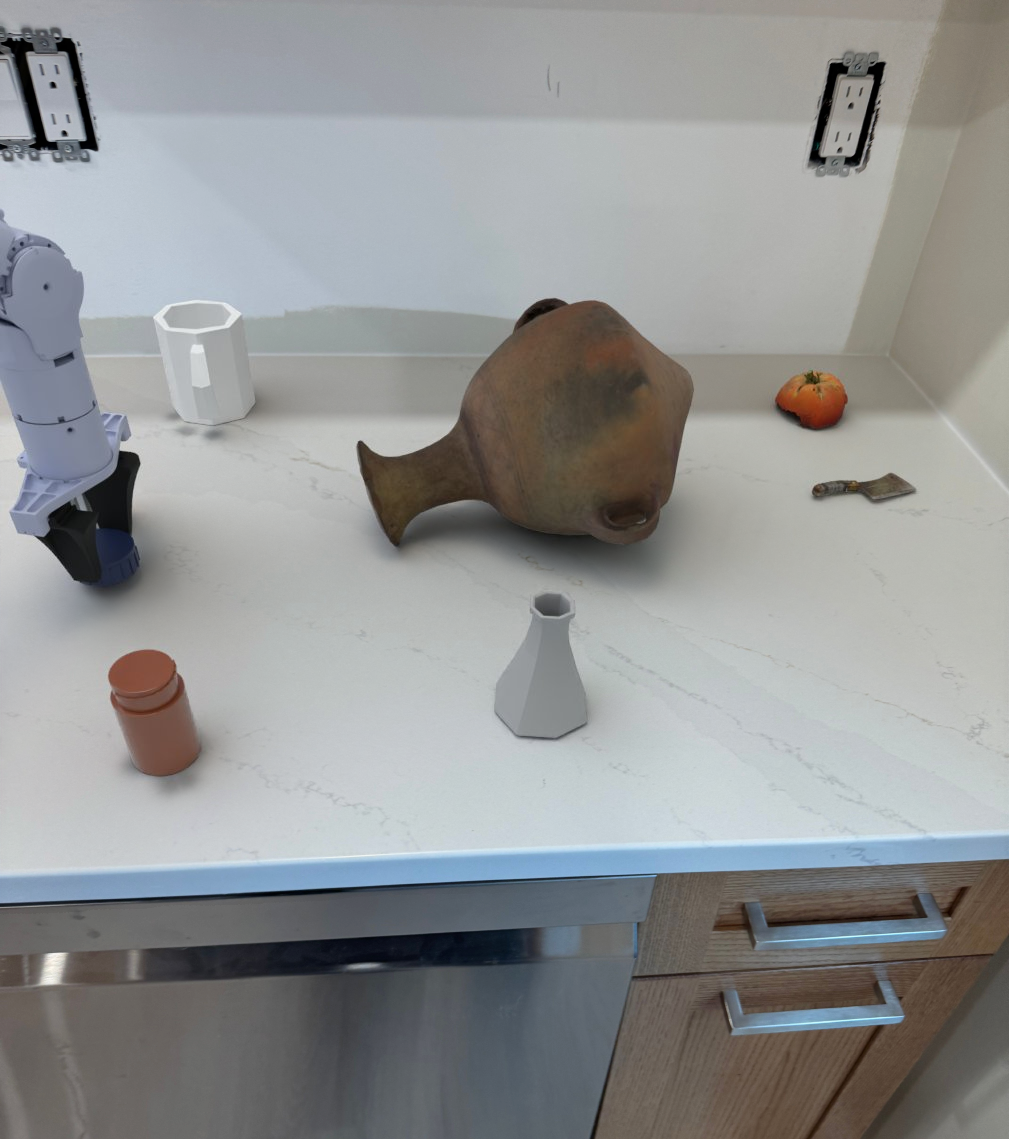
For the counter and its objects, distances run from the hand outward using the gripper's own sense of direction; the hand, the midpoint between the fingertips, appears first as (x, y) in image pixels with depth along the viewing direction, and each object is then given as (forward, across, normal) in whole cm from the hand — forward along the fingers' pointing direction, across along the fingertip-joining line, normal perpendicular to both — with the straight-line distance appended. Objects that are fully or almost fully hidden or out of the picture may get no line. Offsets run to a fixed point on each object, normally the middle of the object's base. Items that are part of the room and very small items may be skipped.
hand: (103, 557), depth 74 cm
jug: (+2, -16, +33) cm, 37 cm away
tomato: (+2, -44, +63) cm, 77 cm away
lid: (-1, 0, 0) cm, 1 cm away
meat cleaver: (+2, -28, +67) cm, 73 cm away
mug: (+2, -28, -2) cm, 28 cm away
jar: (+2, +17, +12) cm, 21 cm away
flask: (+2, +8, +37) cm, 38 cm away
